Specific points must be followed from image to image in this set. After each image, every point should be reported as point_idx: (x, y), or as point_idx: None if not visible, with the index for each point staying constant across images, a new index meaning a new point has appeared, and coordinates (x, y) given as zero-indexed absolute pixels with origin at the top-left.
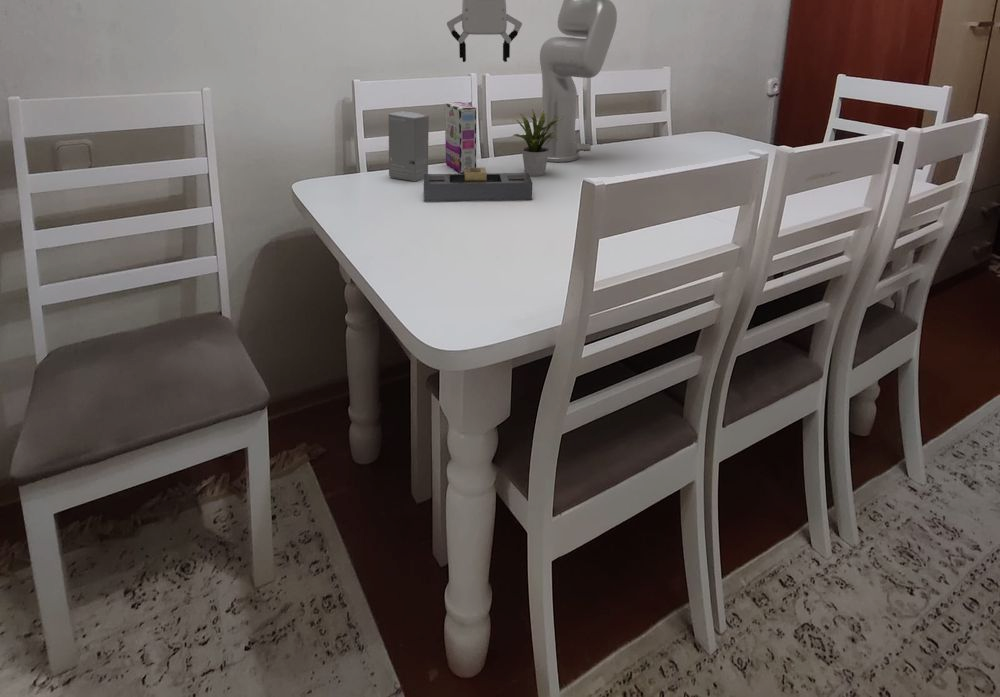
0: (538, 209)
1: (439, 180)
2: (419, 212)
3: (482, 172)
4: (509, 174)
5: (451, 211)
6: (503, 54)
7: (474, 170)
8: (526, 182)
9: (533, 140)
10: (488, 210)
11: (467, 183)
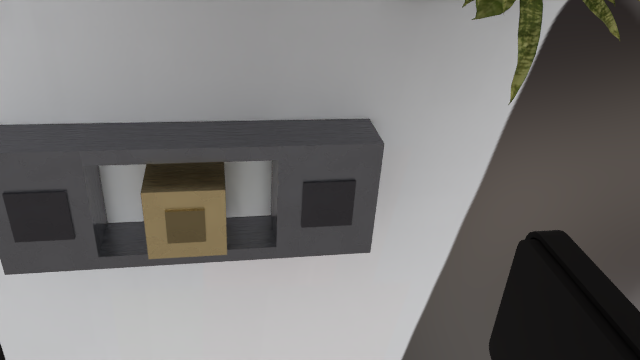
0: (356, 292)
1: (55, 238)
2: (31, 324)
3: (212, 251)
4: (313, 162)
5: (123, 313)
6: (537, 357)
7: (183, 240)
8: (352, 250)
9: (483, 10)
10: (226, 303)
11: (161, 263)
